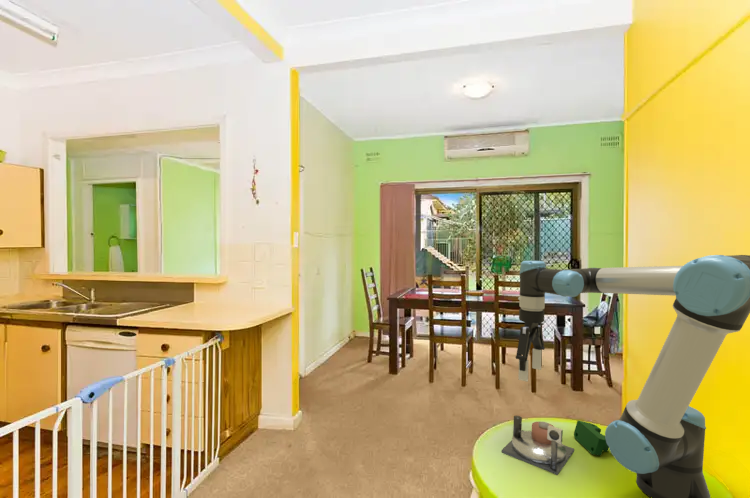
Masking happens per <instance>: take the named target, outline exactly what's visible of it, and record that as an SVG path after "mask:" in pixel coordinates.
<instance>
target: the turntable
mask: <svg viewBox="0 0 750 498" xmlns="http://www.w3.org/2000/svg"><path fill="white" fill-rule="evenodd" d="M522 422H523V417H522V416H521V415H514V416H513V427H512V428H513V429H512V430H513V432H512V434H513V435H512V438H511V440H512V446H513V449H514V450H515V451H516V452H517V453H518V454H520V455H521V456H523V457H525V458H527V459H529V460H532V461H535V462H539V463H545V464H551V444H543V443H540V442H537V441H535V440H534V439H533V438H532V436H531V433H532V430H523V429H522V425H523V423H522ZM522 430H523V431H522ZM521 431H522V432H521ZM564 445H565V444H564V443H563V442H562V443H561V444H560V443H558V449H557V463H559V462H561V461H563V460H564V459H565V456H566V448H565V446H566V445H565V446H564Z"/></svg>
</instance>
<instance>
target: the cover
mask: <svg viewBox="0 0 750 498" xmlns="http://www.w3.org/2000/svg"><path fill="white" fill-rule="evenodd" d="M549 425H550V426H553V427H555V426H554V425H553V424H551V423H548V422H545V421H534V422H532V423H531V431H532V433H531V436H532V438H533V439H534V440H535V441H537V442H540V443H543V444H551V440H548V439H547V432H548V426H549Z"/></svg>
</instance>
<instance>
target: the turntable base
mask: <svg viewBox="0 0 750 498" xmlns="http://www.w3.org/2000/svg"><path fill="white" fill-rule="evenodd" d="M553 426H554V425H553ZM553 426H550V425H549V426H548V432H547V439H548V440H551V464H545V463H539V462H535V461H532V460H529V459H527V458H525V457H523V456H521V455H520V454H518V453H517V452H516V451H515V450H514V449H513V446H512V439H511V440H510V441H509V442H508V443H507V444H506V445H505V446H504V447H503V448H502V449H501V453H502V454H503V455H507V456H510V457H512V458H514V459H517V460H519V461H522V462H524V463H527V464H529V465H532V466H534V467H536V468H538V469H541V470H544V471H546V472H548V473H550V474H553V475H556V476H558V475H559V474H560V472H561V471H562V469H563V468H564V467H565V465H566V464H567V463H568V460H569V459H570V458H571V456H572V455H573V453H574V452H575V448H573V447H572V446H571V447H570V446H568V445H566V444H563V433H564V432H563V431H564V430H563V429H562V428H559V427H556V426H554V427H553ZM522 431H524V430H523V429H521V432H522ZM558 443H560V444H561V443H562V444H563V445H564V446H565V448H566V456H565V459H564V460H563V461H561V462H559V463H557V449H558Z"/></svg>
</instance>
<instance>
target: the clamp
mask: <svg viewBox="0 0 750 498" xmlns="http://www.w3.org/2000/svg"><path fill="white" fill-rule="evenodd" d="M601 432H602V429H601V428H600V426H599V427H598V426H597V425H596V424H594V423H590V422H587V421H584V420H577V421H576V424H575V429H574V432H573V437H574V439H575V440H576V441H577V442H578V443H579V444H580V445H581V446H582V447H584V449H586V451H588V452H589V453H590V454H591V455H594V456H599V457H600V456H602V454H603V452H605V453H608V452H609V449H610V448H609V446H608V445H607V443H606V439H605V434H602V433H601Z"/></svg>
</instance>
